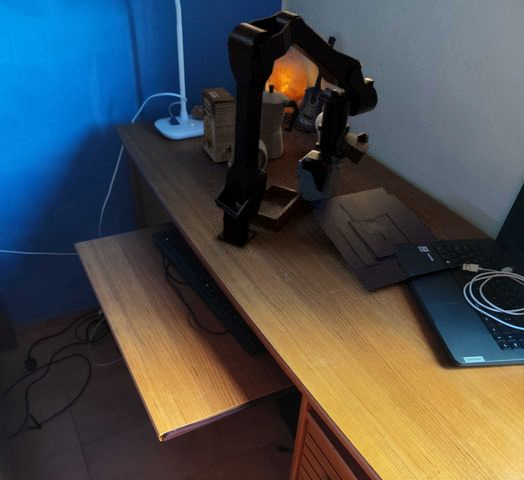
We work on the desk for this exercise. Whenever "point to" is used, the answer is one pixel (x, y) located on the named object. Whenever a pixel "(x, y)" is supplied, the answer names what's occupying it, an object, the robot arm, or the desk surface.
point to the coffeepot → (275, 121)
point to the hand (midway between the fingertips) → (324, 185)
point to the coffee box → (219, 123)
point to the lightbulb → (318, 121)
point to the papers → (370, 232)
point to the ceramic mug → (261, 158)
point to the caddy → (277, 206)
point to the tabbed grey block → (308, 183)
